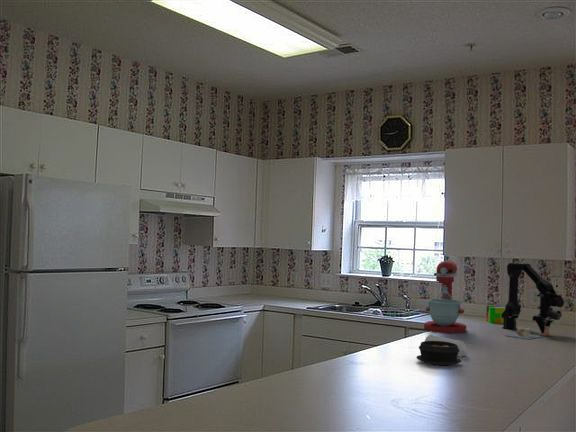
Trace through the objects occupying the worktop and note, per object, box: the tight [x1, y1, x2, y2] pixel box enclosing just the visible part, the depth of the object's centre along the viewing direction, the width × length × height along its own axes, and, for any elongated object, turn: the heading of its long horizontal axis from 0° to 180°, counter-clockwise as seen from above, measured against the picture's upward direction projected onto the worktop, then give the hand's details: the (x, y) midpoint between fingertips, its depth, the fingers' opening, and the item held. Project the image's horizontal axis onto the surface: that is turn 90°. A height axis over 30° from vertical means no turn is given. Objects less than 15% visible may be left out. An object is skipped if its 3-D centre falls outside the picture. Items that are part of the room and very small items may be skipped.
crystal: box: [424, 334, 468, 357], centre depth 286 cm, size 7×7×24 cm
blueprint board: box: [504, 332, 543, 340], centre depth 343 cm, size 14×16×1 cm
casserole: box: [415, 340, 462, 367], centre depth 260 cm, size 25×19×8 cm
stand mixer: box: [423, 260, 467, 334], centre depth 360 cm, size 24×32×40 cm
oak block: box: [516, 327, 531, 337], centre depth 343 cm, size 5×5×4 cm
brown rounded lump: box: [539, 326, 550, 337], centre depth 350 cm, size 5×5×5 cm
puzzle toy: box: [485, 305, 506, 325], centre depth 401 cm, size 10×10×10 cm
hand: (544, 332), depth 349 cm, fingers closed on brown rounded lump, 5 cm apart
